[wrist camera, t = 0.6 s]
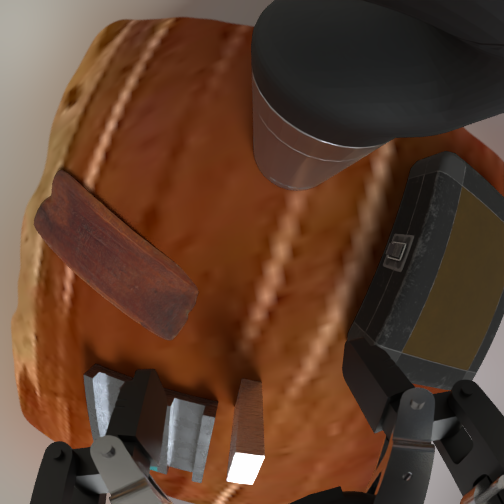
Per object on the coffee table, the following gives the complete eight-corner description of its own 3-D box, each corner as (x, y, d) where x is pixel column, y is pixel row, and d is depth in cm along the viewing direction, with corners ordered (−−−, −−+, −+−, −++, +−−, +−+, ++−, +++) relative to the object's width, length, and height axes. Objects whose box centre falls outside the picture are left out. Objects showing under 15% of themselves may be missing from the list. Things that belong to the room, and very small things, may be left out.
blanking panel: (241, 378, 31) (235, 452, 18) (261, 381, 31) (264, 456, 18) (234, 407, 32) (226, 481, 19) (253, 410, 32) (252, 484, 19)
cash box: (407, 155, 29) (442, 140, 21) (496, 222, 29) (530, 224, 21) (336, 342, 31) (356, 372, 23) (439, 371, 31) (466, 394, 24)
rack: (95, 363, 31) (83, 374, 28) (218, 401, 32) (215, 417, 28) (103, 435, 33) (95, 447, 29) (204, 468, 33) (201, 483, 30)
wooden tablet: (35, 225, 30) (28, 226, 29) (63, 166, 29) (56, 164, 28) (167, 348, 32) (163, 354, 30) (212, 288, 31) (209, 291, 29)
